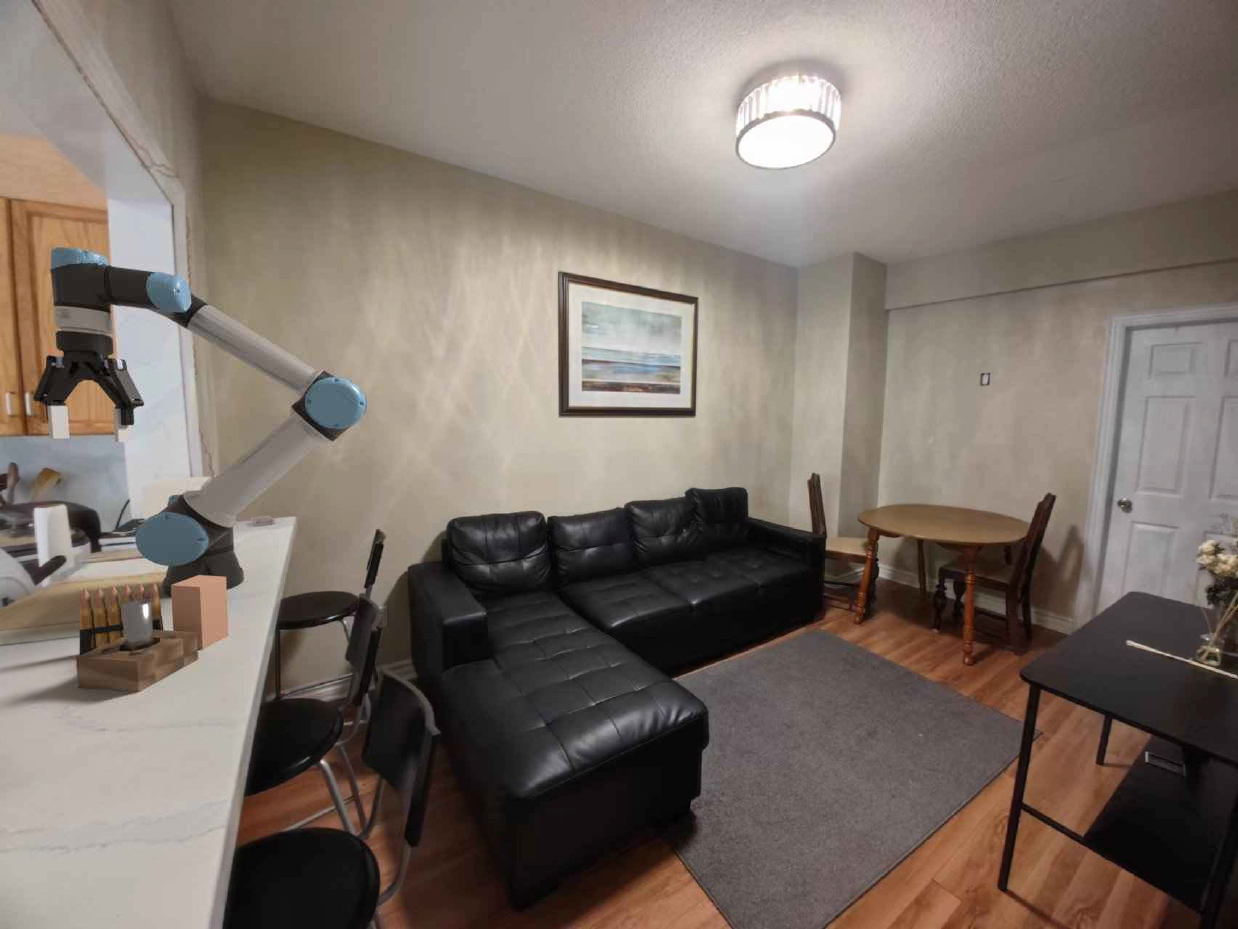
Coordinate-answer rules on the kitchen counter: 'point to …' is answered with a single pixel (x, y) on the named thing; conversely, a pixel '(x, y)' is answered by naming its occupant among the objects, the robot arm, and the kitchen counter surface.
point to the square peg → (201, 608)
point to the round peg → (137, 625)
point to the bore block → (136, 662)
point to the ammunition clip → (111, 616)
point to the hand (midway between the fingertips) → (91, 440)
